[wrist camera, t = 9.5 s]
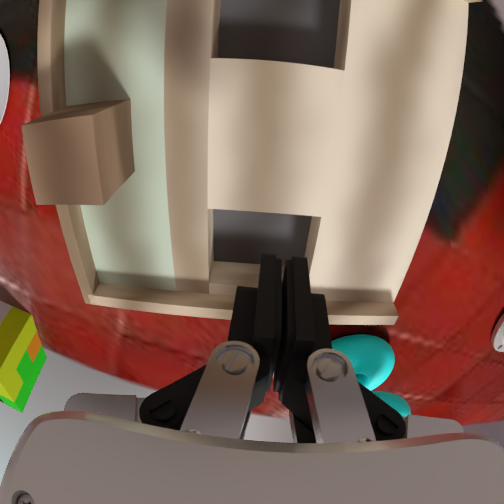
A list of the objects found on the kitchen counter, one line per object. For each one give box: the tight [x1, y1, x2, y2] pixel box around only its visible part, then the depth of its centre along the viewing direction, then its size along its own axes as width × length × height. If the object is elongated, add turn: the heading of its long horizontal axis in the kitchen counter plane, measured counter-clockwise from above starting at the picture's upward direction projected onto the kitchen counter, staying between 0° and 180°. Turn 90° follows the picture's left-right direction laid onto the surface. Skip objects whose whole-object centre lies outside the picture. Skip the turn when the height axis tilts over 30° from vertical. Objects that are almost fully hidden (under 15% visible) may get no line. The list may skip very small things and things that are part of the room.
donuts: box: [331, 334, 411, 417], centre depth 28 cm, size 10×10×10 cm
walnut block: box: [22, 99, 135, 205], centre depth 14 cm, size 4×4×4 cm
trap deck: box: [38, 0, 482, 325], centre depth 17 cm, size 24×25×4 cm
